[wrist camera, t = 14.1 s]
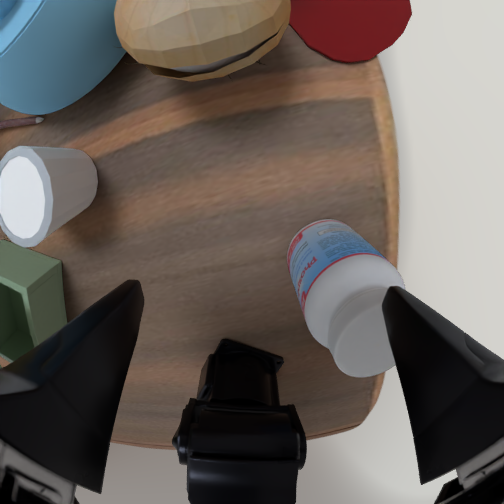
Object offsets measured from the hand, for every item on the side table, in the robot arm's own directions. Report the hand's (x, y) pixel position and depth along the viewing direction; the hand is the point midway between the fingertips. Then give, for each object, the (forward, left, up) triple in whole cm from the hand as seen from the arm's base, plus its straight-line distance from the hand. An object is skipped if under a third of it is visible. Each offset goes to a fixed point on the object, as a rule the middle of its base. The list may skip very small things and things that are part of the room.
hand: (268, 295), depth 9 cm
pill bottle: (-6, +1, -12) cm, 14 cm away
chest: (+19, +18, -12) cm, 29 cm away
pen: (+26, 0, -12) cm, 29 cm away
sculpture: (+6, -11, -12) cm, 17 cm away
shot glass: (+16, +3, -12) cm, 20 cm away
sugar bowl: (+21, -9, -12) cm, 26 cm away
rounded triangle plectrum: (+3, -21, -12) cm, 24 cm away
